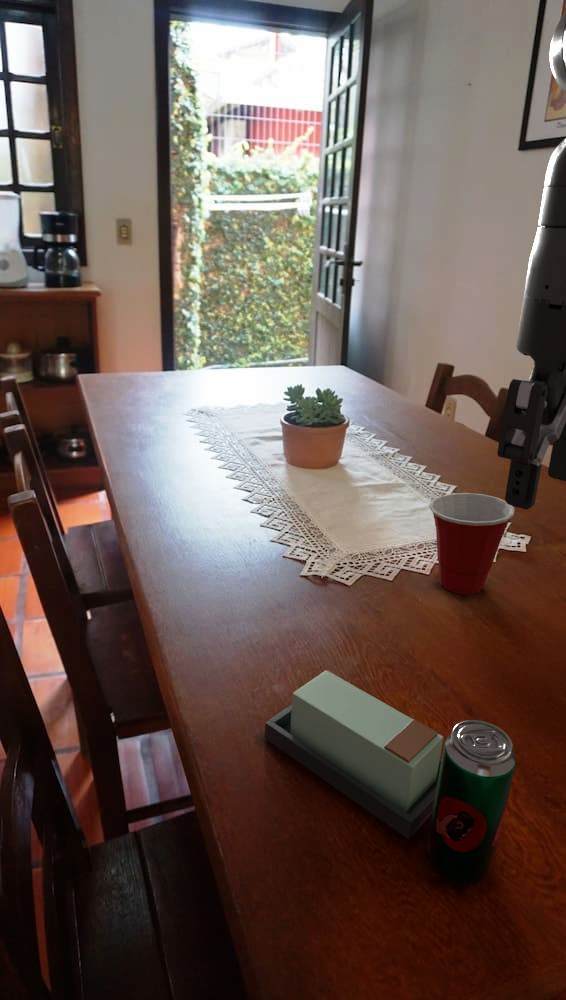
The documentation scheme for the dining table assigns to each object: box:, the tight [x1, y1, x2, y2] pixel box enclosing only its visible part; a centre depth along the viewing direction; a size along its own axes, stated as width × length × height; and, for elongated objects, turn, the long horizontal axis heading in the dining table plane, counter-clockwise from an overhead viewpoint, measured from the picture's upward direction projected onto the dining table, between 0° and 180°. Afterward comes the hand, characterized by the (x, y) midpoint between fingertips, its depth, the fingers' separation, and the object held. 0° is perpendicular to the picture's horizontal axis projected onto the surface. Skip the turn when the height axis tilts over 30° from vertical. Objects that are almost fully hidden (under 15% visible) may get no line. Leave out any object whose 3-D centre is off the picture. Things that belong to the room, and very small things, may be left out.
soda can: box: [426, 719, 517, 885], centre depth 51 cm, size 5×5×12 cm
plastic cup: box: [428, 492, 515, 595], centre depth 92 cm, size 11×11×12 cm
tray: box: [264, 704, 442, 841], centre depth 62 cm, size 8×16×2 cm, turn 47°
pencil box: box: [290, 669, 444, 812], centre depth 62 cm, size 13×5×5 cm, turn 48°
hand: (540, 491), depth 58 cm, fingers open, 8 cm apart
